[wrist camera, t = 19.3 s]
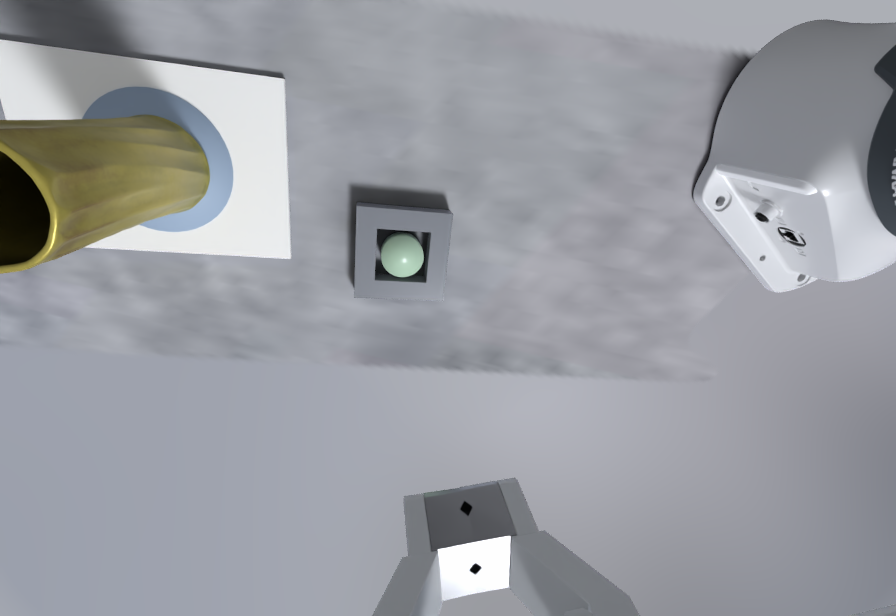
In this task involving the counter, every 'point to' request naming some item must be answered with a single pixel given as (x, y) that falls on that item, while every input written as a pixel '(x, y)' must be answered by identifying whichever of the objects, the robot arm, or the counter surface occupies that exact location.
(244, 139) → the paper pad
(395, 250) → the button
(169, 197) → the vase
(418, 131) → the counter surface
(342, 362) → the counter surface
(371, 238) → the button collar
